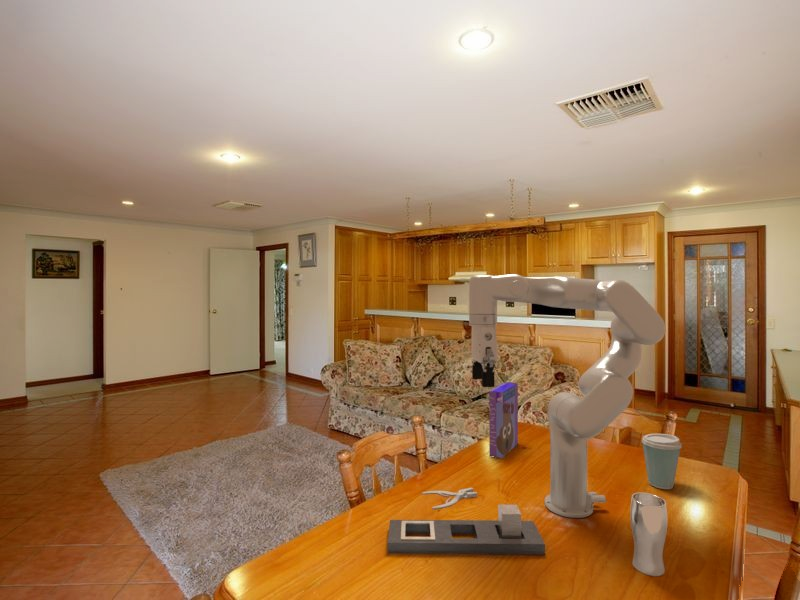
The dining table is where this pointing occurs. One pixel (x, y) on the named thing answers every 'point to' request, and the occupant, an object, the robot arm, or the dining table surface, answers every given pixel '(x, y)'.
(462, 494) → the pliers
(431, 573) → the dining table surface
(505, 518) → the steel block
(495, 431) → the cereal box
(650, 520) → the beer glass
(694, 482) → the dining table surface
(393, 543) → the rail
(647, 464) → the disposable coffee cup
